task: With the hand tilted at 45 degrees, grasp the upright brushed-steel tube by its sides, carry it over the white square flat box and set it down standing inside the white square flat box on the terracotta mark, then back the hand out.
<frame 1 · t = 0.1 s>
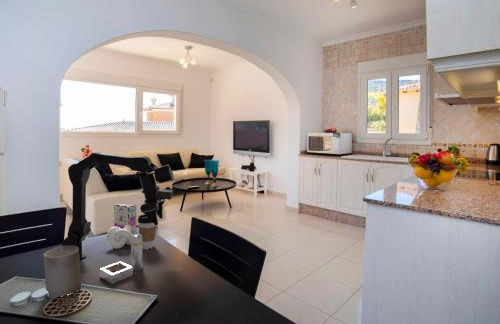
hand: (159, 221, 122), 15 cm above the table, tool pointing down, fingers open, 9 cm apart
pillar candle: (63, 291, 96), on the table
tube: (136, 268, 113), on the table
white knot sculpture: (120, 246, 135), on the table
coffee cup: (147, 247, 135), on the table
white square flat box: (116, 276, 106), on the table
candy bar box: (125, 236, 148), on the table
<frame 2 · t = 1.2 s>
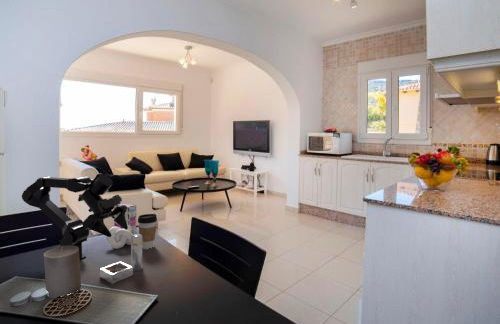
hand: (119, 232, 114), 13 cm above the table, tool tilted 45°, fingers open, 9 cm apart
nothing on the table moved.
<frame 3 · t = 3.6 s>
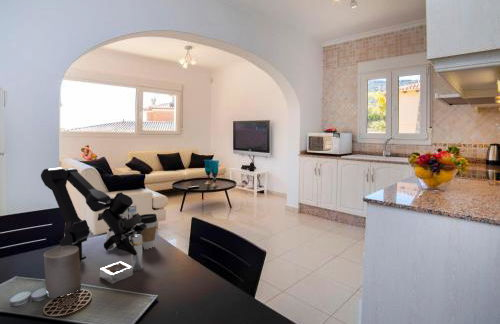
hand: (139, 252, 112), 7 cm above the table, tool tilted 45°, fingers closed on tube, 4 cm apart
tube: (136, 268, 113), on the table, touching gripper
everything else where it was.
when the fingers open (8 cm above the table, at t = 6.7 s): tube stays where it is, resting on white square flat box.
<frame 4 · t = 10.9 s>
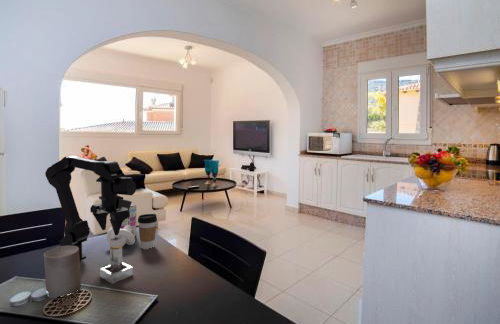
hand: (110, 232, 115), 13 cm above the table, tool pointing down, fingers open, 9 cm apart
tube: (116, 273, 106), point 1 cm above the table, touching white square flat box
everything else where it was.
at the end: tube 0.1 cm off-centre on the white square flat box, point 0.8 cm above the white square flat box's base; tube tilted 0°; the gripper is holding nothing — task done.
